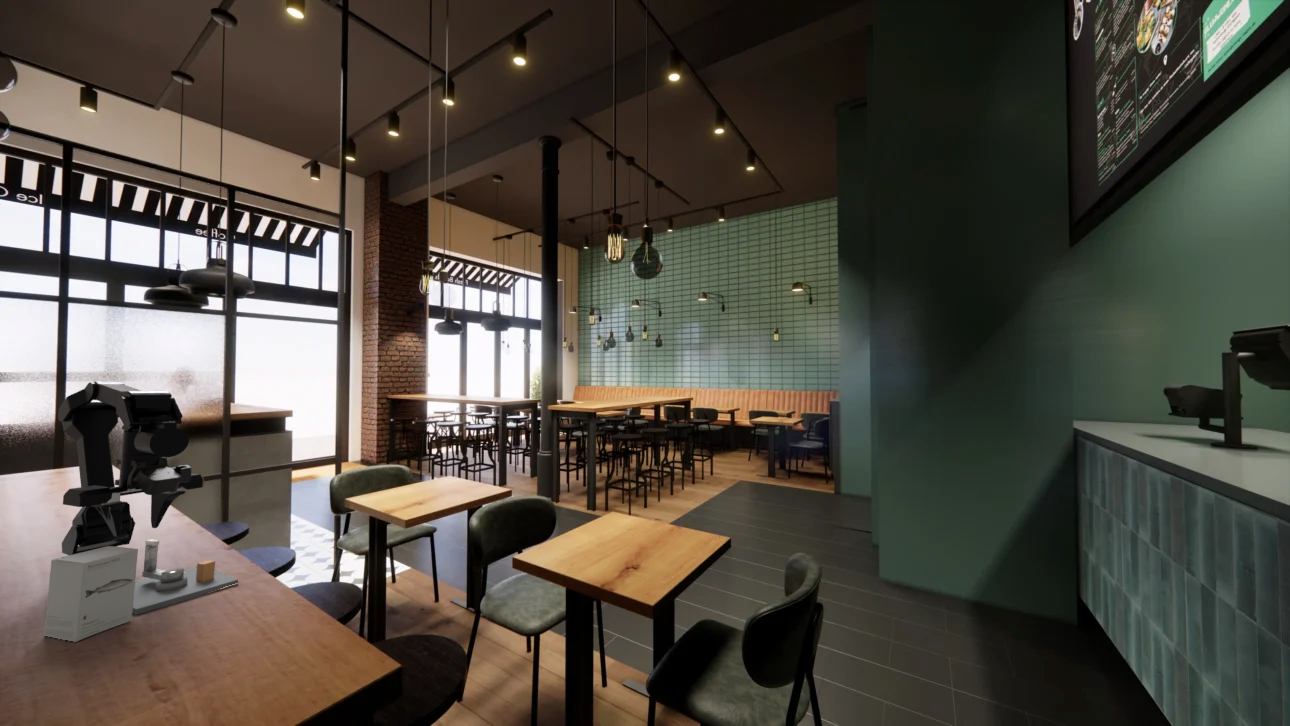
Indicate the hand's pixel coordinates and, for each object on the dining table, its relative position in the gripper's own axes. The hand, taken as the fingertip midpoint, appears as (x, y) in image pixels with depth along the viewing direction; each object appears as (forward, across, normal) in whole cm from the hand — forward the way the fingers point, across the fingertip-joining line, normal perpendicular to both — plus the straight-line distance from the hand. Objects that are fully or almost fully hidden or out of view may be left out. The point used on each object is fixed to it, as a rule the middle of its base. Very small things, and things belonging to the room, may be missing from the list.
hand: (136, 531), depth 93 cm
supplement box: (+12, -10, -11) cm, 20 cm away
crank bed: (+12, +4, -6) cm, 14 cm away
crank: (+10, +3, -3) cm, 11 cm away
